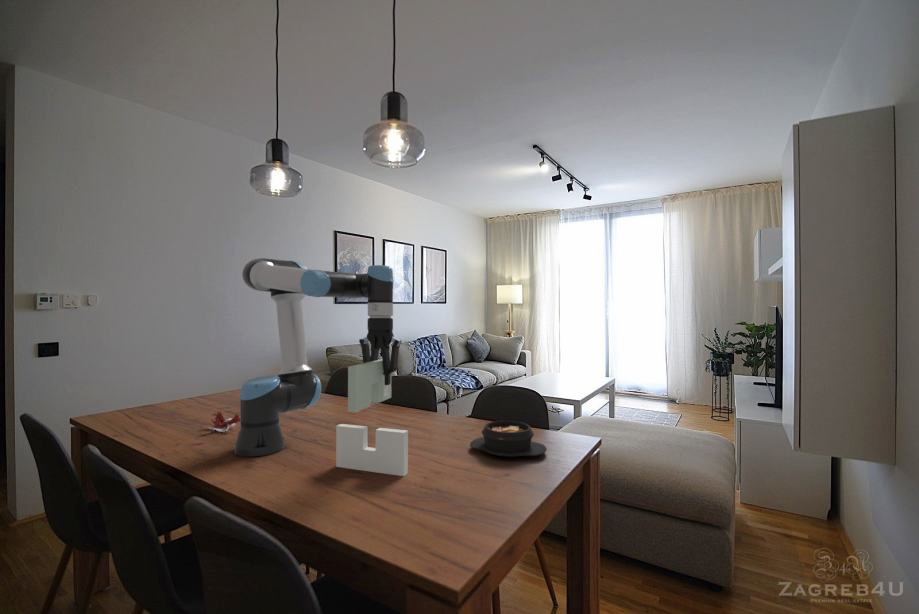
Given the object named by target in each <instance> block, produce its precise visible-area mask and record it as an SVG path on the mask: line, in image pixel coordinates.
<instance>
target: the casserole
mask: <svg viewBox="0 0 919 614" xmlns="http://www.w3.org/2000/svg"><path fill="white" fill-rule="evenodd" d="M483 427H484V428H483V429H482V431H481V434H482V437H481V436H480V437H477V438H475V439H473V440H472V441H470V443H469V446H470V447H471V448H472V449H475V450H479V451H482V452H484V453H488V454H491V455H495V456H497V457H501V458H516V457H517V458H518V457H523V456H524V457H536V456H540V455H543V454H545V452H547V446H545V445H544V444H543V443H540V442H537V441H532V438H533V437H534V435H535V432H534V431H532V428H531V427H532V426H530V424H527V423H525V422H522V421H517V420H496V421H495V420H494V421H491V422H490V421H489V422H487V423H486V424H485V425H484V426H483Z"/></svg>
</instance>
